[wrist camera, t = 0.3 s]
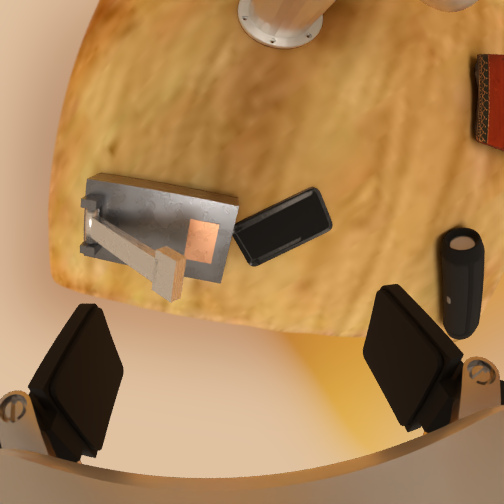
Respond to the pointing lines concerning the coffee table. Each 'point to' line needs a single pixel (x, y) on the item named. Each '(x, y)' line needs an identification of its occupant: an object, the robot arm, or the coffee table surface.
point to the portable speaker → (462, 281)
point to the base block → (165, 220)
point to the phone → (282, 226)
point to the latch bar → (139, 255)
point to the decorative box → (490, 100)
